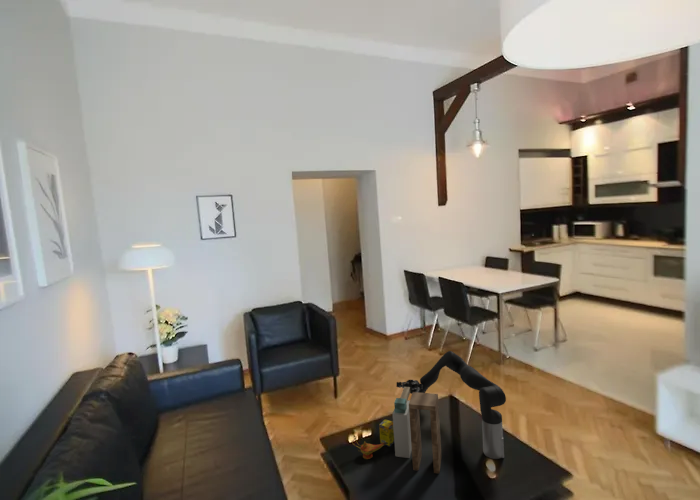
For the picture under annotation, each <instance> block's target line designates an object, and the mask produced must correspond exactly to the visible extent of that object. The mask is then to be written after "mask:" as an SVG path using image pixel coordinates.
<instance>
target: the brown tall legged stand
mask: <svg viewBox="0 0 700 500" xmlns="http://www.w3.org/2000/svg"><path fill="white" fill-rule="evenodd" d="M409 401H410V402H409V415H410V431H411V446H412V450H411V457H412V458H411V459H412V469H413V471H419V469H420V467H421V466H420V465H421V460H422V455H423V452H422V451H423V450H422V434H421V433H422V432H421V420H420V410H424V411H429V416H430V431H431V447H432V448H431V449H432V451H431V452H432V464H433V466H432V467H433V474H440V473H441V472H440V471H441V466H442V465H441V464H442V440H441V425H440V424H441V423H440V408H439V394H438V393H433V392H431V393H430V392H429V393H428V392H425V393H419V392H413V393H412V394H411V397H410V399H409Z"/></svg>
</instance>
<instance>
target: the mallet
mask: <svg viewBox="0 0 700 500" xmlns="http://www.w3.org/2000/svg"><path fill="white" fill-rule="evenodd" d="M410 394H411V393H410V387H404V388H402V391H401V394H400V396H399V397H396V398H395V399H394V402H393V403H394V409H395V413H405V412H406V409H407V404H406V403H407V400H409V397H410Z"/></svg>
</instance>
